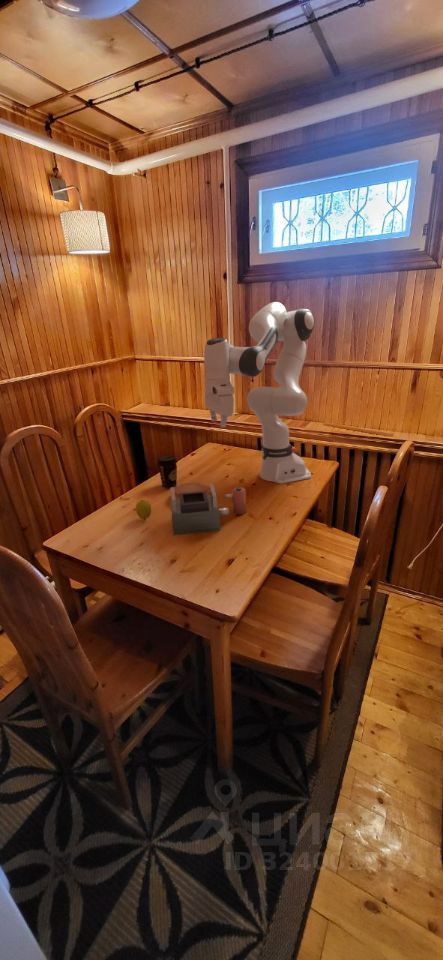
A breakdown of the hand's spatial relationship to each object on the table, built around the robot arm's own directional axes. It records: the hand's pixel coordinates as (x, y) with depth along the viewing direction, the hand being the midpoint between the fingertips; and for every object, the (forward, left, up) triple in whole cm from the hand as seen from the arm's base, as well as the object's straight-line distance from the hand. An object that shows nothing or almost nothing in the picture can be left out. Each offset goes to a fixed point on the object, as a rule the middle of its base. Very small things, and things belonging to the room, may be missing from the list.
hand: (218, 423), depth 152 cm
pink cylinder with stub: (-3, +13, -31) cm, 33 cm away
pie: (+12, -2, -31) cm, 33 cm away
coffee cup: (+20, -17, -31) cm, 41 cm away
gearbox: (+10, +19, -31) cm, 37 cm away
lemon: (+30, +11, -31) cm, 45 cm away
